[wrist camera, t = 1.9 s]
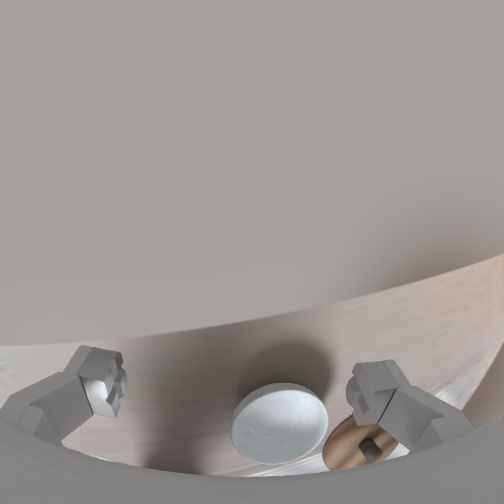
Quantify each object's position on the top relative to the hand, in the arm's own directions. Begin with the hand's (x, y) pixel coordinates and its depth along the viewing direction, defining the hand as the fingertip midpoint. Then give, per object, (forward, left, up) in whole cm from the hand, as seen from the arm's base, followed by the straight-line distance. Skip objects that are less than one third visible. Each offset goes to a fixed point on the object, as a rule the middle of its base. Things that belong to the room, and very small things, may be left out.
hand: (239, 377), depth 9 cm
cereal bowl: (-24, +15, -39) cm, 48 cm away
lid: (-48, +11, -39) cm, 63 cm away
